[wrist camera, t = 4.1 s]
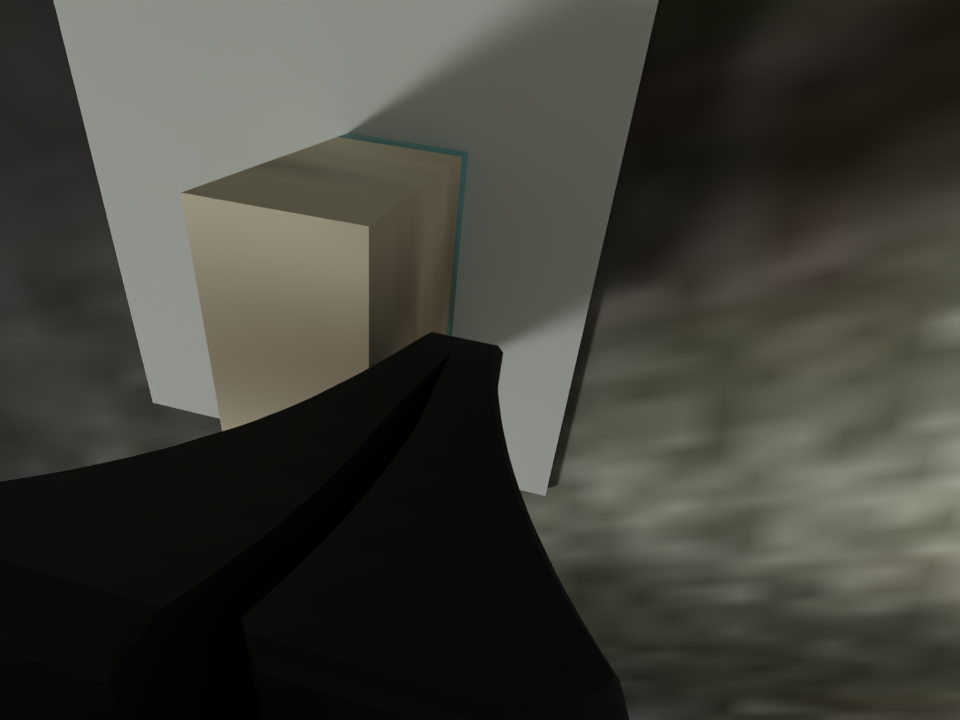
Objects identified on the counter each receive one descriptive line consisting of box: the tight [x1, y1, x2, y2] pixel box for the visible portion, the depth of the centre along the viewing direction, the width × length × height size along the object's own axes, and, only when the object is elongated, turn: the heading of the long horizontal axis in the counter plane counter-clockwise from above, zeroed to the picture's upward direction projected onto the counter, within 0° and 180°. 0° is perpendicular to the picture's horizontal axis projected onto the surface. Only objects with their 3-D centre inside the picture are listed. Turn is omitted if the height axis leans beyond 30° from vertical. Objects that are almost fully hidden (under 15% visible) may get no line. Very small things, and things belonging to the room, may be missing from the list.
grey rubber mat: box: [54, 0, 659, 496], centre depth 15 cm, size 14×14×1 cm
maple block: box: [181, 133, 468, 431], centre depth 12 cm, size 6×3×6 cm, turn 174°
